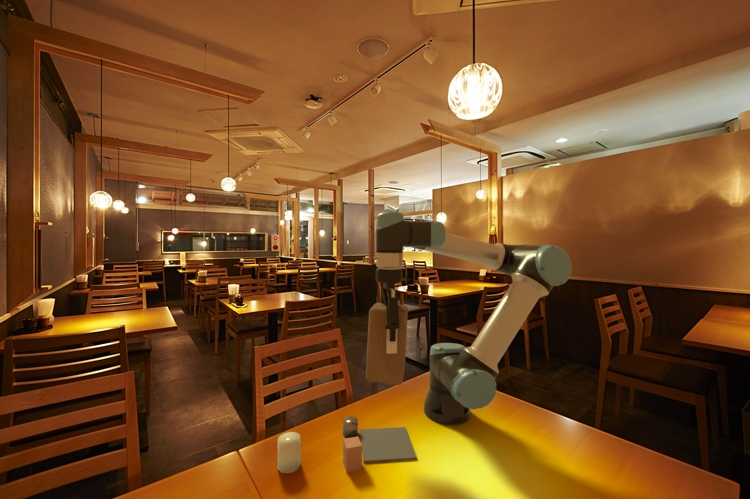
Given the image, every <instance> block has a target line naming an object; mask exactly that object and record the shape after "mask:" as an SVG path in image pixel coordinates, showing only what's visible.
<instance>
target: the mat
mask: <svg viewBox="0 0 750 499" xmlns="http://www.w3.org/2000/svg"><path fill="white" fill-rule="evenodd" d="M408 433H409V432H408V431H407V428H406V426H397V427H380V428H378V427H376V428H363V429H362V428H361V429H359V435H360V437H359V439H360V442H361V444H362V462H363V464H368V463H369V464H370V463H372V464H373V463H385V462H386V463H387V462H399V461H414V460H415V461H416V460H417V459H418V458H417V454H416V452H415V449H414V447H413V444H412V441H411V438H410V436H409V434H408Z"/></svg>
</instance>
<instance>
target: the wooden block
mask: <svg viewBox="0 0 750 499" xmlns="http://www.w3.org/2000/svg"><path fill="white" fill-rule="evenodd" d="M398 313H399V328H398V329H397V353H389V354H387V353H386V340H387V329H385V326H388V324H387V309H386V305H384V304H382V303H380V302H375V303H374V304H373V306H371V308H370V309H369V311H368V325H367V326H368V329H367V345H366V346H367V347H366V363H365V364H366V365H365V366H366V368H365V379H366V381H367V382H371V383H379V384H388V385H394V386H396V385H397V386H400V385H402V384H403V381H404V377H405V370H406V353H407V337H408V336H407V335H408V316H409V315H408V314H409V306H408V305H405V304H398ZM392 324H393V323H392Z"/></svg>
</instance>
